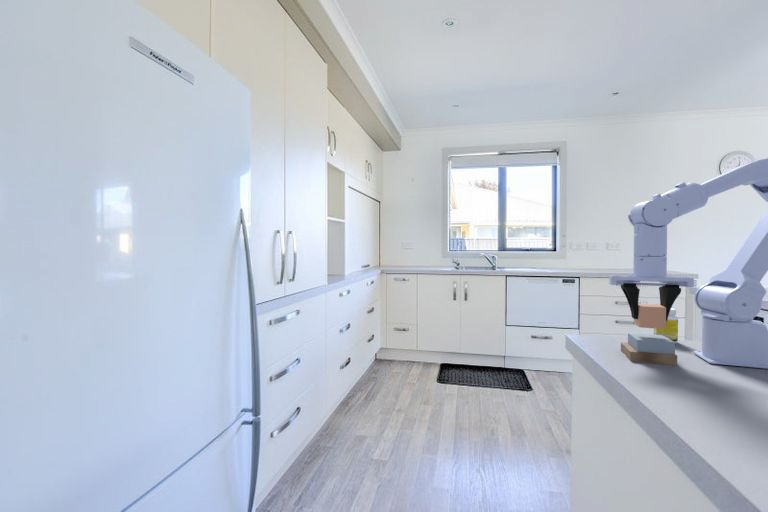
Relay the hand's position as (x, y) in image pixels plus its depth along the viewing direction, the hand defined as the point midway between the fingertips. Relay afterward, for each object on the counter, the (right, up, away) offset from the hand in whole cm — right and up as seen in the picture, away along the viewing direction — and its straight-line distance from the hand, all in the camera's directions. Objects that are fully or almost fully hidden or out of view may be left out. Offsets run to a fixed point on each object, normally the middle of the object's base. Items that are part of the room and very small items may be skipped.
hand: (649, 319), depth 76 cm
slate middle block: (0, -6, 0) cm, 6 cm away
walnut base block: (0, -9, 0) cm, 9 cm away
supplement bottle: (+14, -8, +13) cm, 21 cm away
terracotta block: (0, -2, 0) cm, 2 cm away
